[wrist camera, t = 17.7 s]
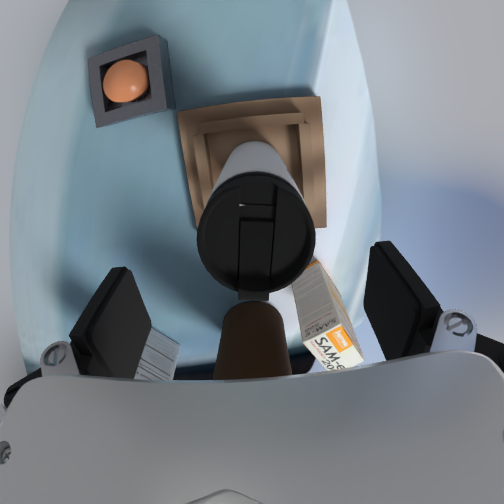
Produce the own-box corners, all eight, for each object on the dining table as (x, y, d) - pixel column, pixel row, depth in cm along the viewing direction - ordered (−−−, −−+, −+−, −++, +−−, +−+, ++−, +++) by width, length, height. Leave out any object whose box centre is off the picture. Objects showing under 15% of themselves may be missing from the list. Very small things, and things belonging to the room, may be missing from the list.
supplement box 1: (158, 366, 51) (140, 431, 37) (119, 342, 48) (92, 406, 35) (182, 345, 47) (165, 417, 34) (139, 317, 45) (109, 388, 31)
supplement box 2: (288, 275, 40) (299, 342, 29) (317, 258, 39) (340, 321, 28) (315, 312, 44) (331, 378, 32) (342, 297, 42) (366, 361, 31)
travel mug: (226, 194, 33) (196, 300, 16) (227, 139, 30) (190, 183, 13) (280, 197, 34) (308, 305, 16) (284, 141, 30) (327, 190, 13)
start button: (111, 69, 26) (101, 67, 24) (149, 57, 26) (140, 54, 23) (116, 106, 28) (106, 107, 26) (154, 96, 28) (145, 95, 26)
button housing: (101, 61, 26) (87, 59, 23) (167, 41, 26) (158, 34, 23) (109, 125, 30) (96, 128, 27) (175, 108, 30) (167, 108, 27)
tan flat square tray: (180, 111, 30) (172, 112, 27) (317, 96, 29) (324, 95, 26) (201, 234, 38) (196, 246, 34) (323, 222, 37) (330, 234, 34)
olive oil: (269, 287, 41) (279, 455, 19) (297, 333, 46) (316, 478, 24) (206, 312, 44) (178, 466, 22) (240, 353, 48) (233, 490, 26)
